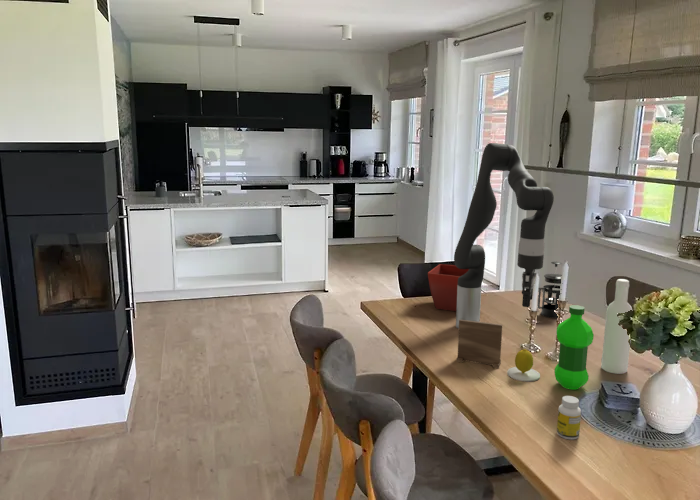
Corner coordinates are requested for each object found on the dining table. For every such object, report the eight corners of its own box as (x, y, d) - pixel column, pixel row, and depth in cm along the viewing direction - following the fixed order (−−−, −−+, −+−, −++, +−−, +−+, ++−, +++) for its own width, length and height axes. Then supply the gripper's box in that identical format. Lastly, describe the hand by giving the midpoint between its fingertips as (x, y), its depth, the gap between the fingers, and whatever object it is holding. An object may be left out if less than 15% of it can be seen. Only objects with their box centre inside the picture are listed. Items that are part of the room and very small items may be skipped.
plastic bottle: (571, 376, 179) (577, 300, 174) (596, 390, 170) (603, 310, 165) (545, 381, 176) (551, 304, 171) (569, 395, 166) (576, 314, 161)
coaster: (509, 366, 187) (509, 365, 187) (541, 371, 183) (541, 369, 183) (505, 378, 178) (505, 376, 178) (538, 383, 174) (538, 381, 174)
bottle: (616, 375, 180) (625, 284, 174) (595, 367, 187) (603, 278, 181) (632, 371, 184) (642, 281, 178) (611, 362, 191) (620, 276, 185)
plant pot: (469, 316, 240) (471, 277, 236) (425, 310, 248) (426, 272, 244) (479, 304, 257) (481, 267, 253) (438, 299, 265) (439, 263, 261)
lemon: (515, 375, 179) (516, 351, 177) (513, 368, 184) (515, 345, 182) (533, 377, 178) (535, 353, 176) (531, 370, 183) (533, 346, 181)
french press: (560, 311, 246) (564, 259, 242) (569, 318, 237) (573, 264, 233) (533, 311, 246) (537, 259, 242) (541, 318, 237) (545, 264, 232)
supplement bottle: (552, 429, 147) (555, 394, 145) (572, 428, 148) (576, 393, 146) (562, 440, 142) (565, 404, 140) (583, 439, 142) (586, 403, 140)
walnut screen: (459, 356, 196) (460, 317, 193) (500, 362, 190) (503, 322, 188) (456, 361, 191) (457, 322, 188) (498, 368, 186) (501, 327, 183)
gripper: (542, 257, 166) (538, 311, 169) (545, 248, 179) (541, 298, 182) (515, 255, 169) (512, 307, 172) (520, 246, 182) (517, 295, 185)
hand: (527, 302), depth 177 cm, fingers open, 8 cm apart
